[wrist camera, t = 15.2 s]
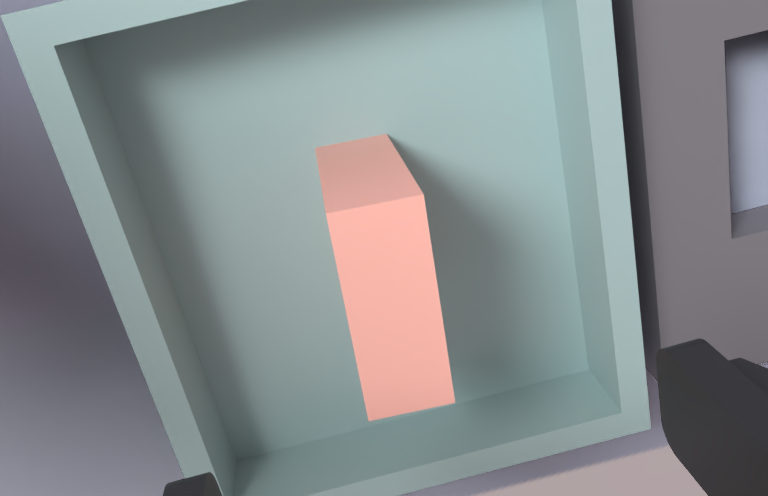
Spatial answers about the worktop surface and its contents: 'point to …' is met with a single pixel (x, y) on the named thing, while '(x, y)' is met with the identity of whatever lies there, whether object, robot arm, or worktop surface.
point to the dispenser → (689, 178)
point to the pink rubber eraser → (386, 276)
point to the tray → (311, 232)
